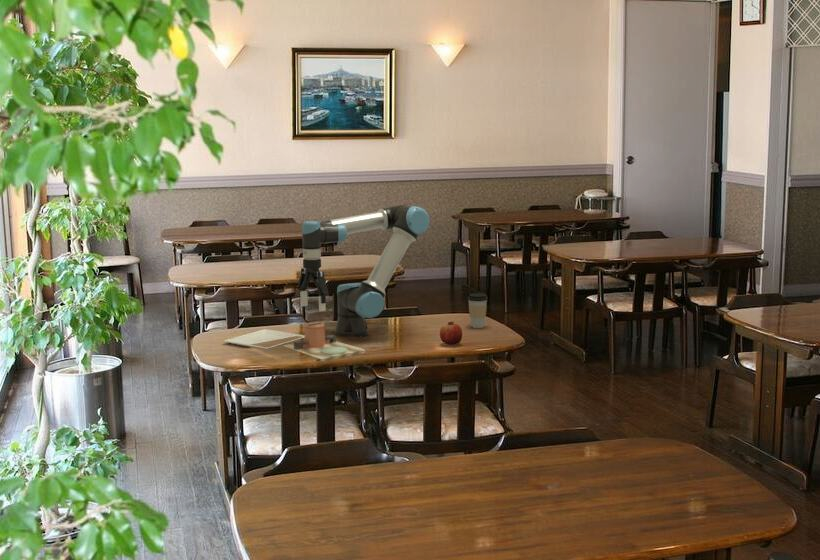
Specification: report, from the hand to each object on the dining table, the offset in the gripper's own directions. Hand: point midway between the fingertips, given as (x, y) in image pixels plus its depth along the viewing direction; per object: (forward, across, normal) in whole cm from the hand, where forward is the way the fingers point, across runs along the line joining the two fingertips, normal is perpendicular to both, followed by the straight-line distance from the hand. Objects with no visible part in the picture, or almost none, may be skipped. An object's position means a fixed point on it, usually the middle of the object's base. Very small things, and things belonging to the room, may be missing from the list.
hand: (313, 308), depth 413 cm
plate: (+18, -24, -9) cm, 31 cm away
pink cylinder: (+16, 0, 0) cm, 16 cm away
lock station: (+17, +6, 0) cm, 18 cm away
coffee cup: (+17, +18, +77) cm, 81 cm away
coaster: (+16, +14, 0) cm, 21 cm away
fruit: (+17, +35, +46) cm, 61 cm away
